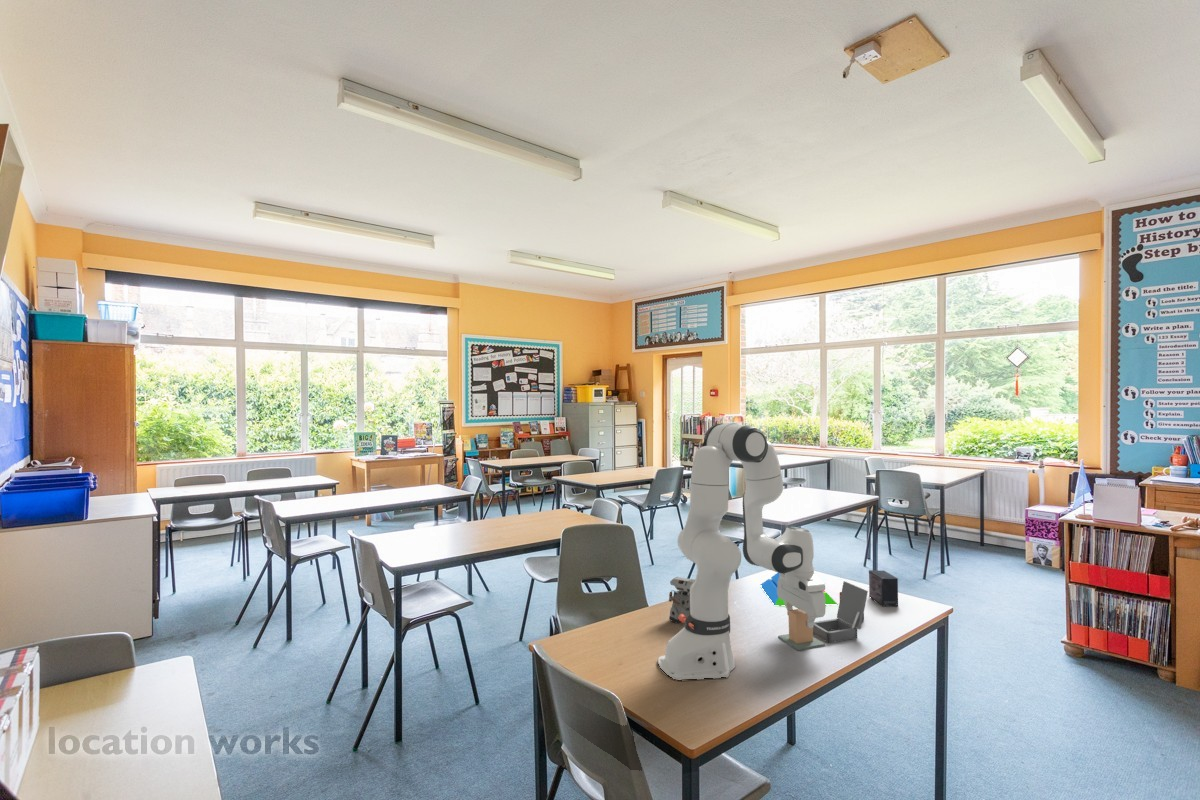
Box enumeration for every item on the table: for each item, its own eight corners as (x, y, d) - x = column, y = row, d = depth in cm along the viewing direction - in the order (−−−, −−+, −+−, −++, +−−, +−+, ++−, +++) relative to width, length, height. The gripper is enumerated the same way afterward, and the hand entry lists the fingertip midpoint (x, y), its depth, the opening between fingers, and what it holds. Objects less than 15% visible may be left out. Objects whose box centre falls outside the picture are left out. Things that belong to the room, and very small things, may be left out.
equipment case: (829, 643, 174) (828, 595, 174) (809, 631, 184) (808, 585, 184) (869, 636, 178) (867, 590, 178) (847, 625, 188) (846, 580, 188)
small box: (899, 606, 204) (899, 578, 204) (882, 606, 204) (881, 578, 204) (885, 596, 214) (884, 569, 215) (868, 597, 215) (867, 569, 215)
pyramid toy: (757, 586, 232) (756, 552, 232) (818, 586, 230) (817, 551, 230) (773, 608, 207) (772, 570, 207) (841, 608, 205) (840, 569, 205)
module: (796, 643, 173) (796, 614, 173) (789, 638, 177) (788, 610, 177) (813, 640, 175) (812, 612, 175) (805, 635, 179) (804, 608, 179)
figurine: (688, 629, 187) (687, 585, 187) (666, 619, 197) (665, 576, 197) (708, 623, 192) (707, 580, 192) (685, 613, 202) (685, 572, 202)
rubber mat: (797, 650, 170) (797, 648, 170) (778, 637, 179) (778, 635, 179) (824, 645, 172) (824, 643, 172) (804, 633, 182) (804, 631, 182)
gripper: (771, 569, 185) (772, 611, 185) (811, 588, 166) (812, 635, 165) (788, 568, 187) (788, 609, 187) (829, 586, 167) (829, 632, 167)
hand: (800, 621), depth 176 cm, fingers open, 8 cm apart
